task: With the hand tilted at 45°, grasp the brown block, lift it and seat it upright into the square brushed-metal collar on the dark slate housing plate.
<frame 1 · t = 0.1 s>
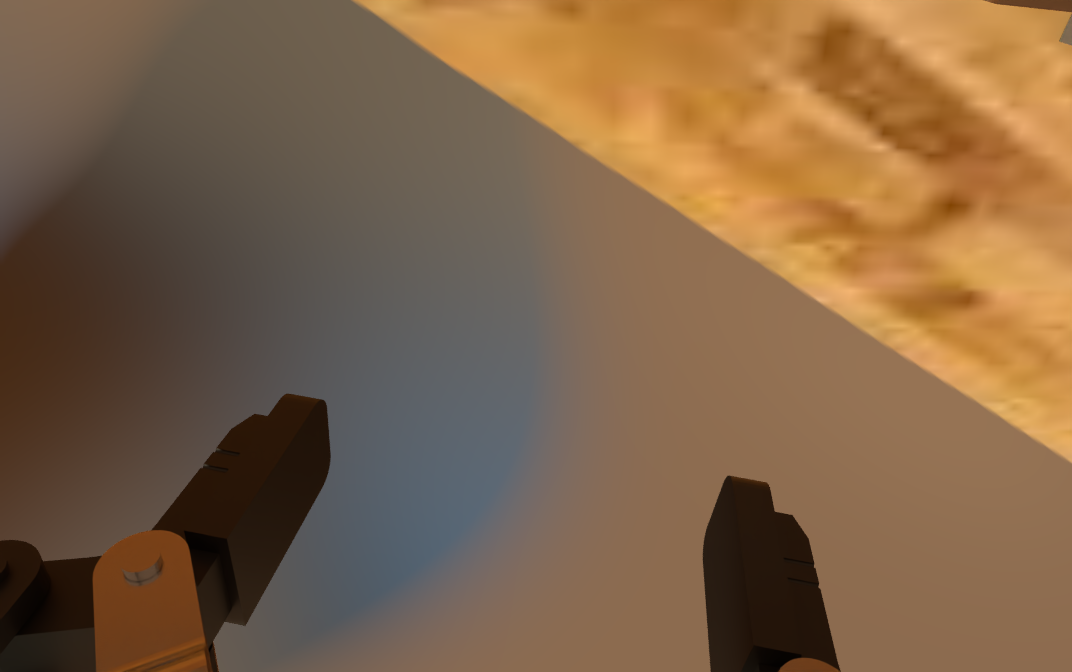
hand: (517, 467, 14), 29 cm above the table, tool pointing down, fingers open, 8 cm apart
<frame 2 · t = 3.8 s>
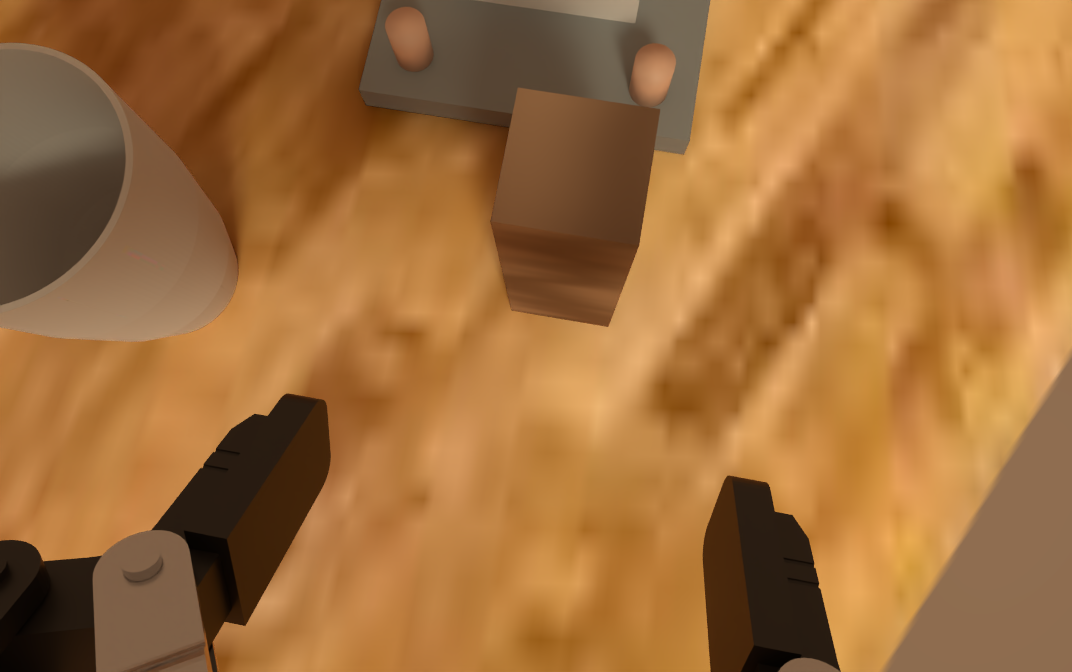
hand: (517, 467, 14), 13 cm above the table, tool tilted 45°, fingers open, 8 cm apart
cup: (181, 278, 29), on the table
brown block: (567, 272, 28), on the table
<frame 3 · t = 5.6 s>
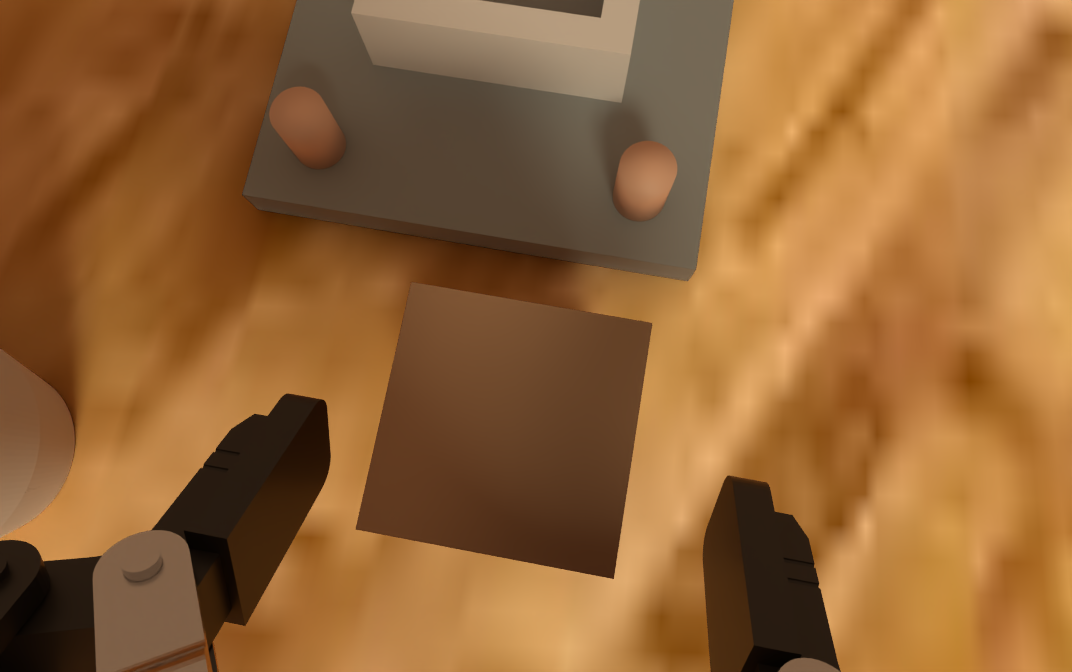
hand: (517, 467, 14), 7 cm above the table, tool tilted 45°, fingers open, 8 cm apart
brown block: (527, 449, 21), on the table
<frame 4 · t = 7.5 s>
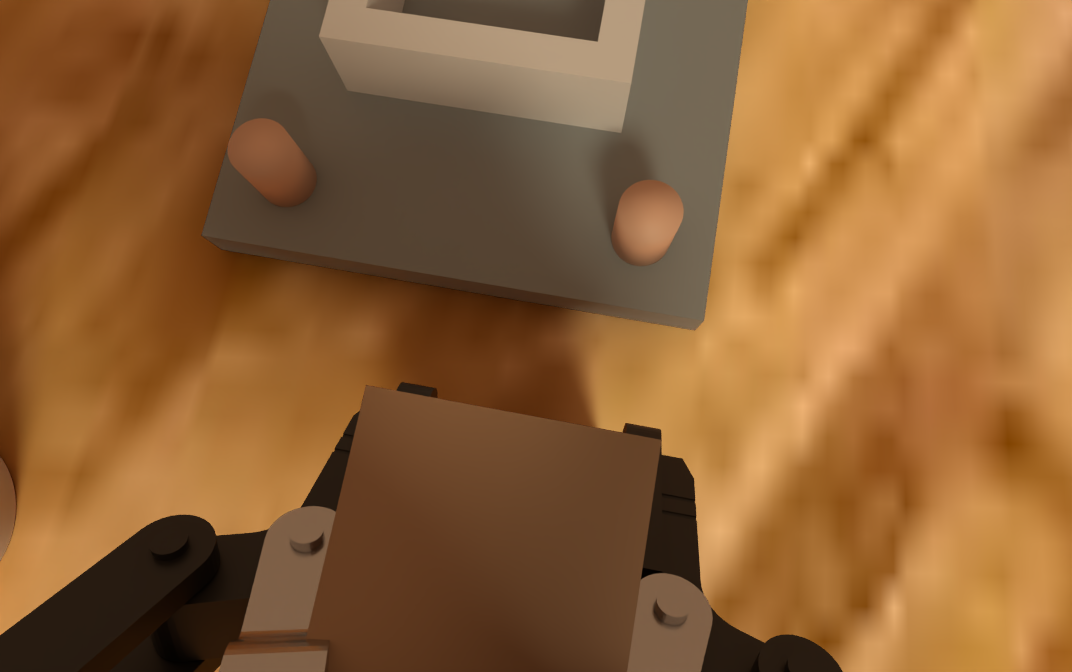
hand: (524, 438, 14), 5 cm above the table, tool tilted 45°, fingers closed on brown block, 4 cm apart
brown block: (518, 520, 19), on the table, touching gripper
housing plate: (511, 17, 22), on the table
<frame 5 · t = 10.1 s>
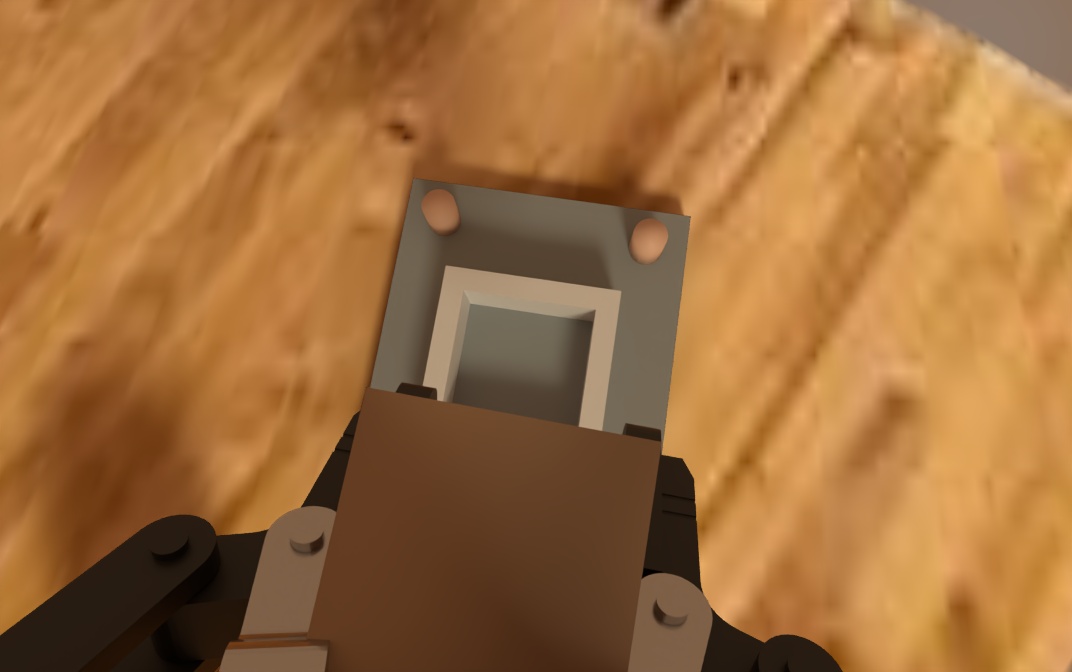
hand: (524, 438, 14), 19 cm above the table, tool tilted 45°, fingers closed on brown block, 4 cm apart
brown block: (518, 521, 19), point 14 cm above the table, touching gripper
housing plate: (522, 377, 34), on the table
when the fingers open (6 cm above the table, at t = 13.3 s): brown block stays where it is, resting on housing plate.
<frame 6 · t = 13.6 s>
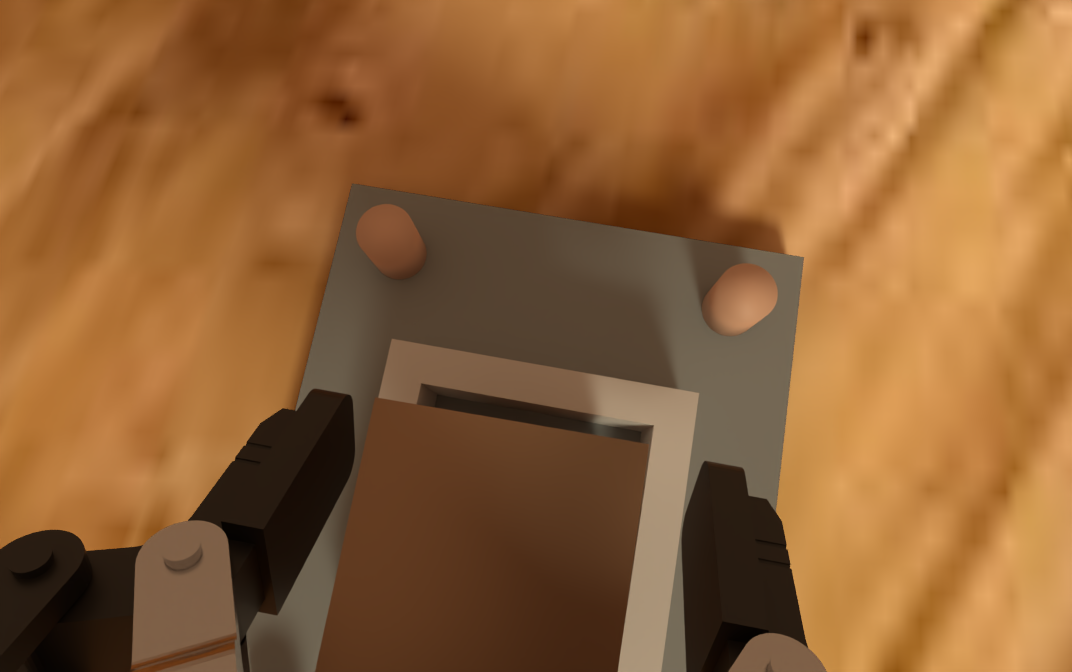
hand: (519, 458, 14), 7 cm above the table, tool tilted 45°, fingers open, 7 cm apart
brown block: (519, 520, 19), point 1 cm above the table, touching housing plate
housing plate: (521, 516, 20), on the table
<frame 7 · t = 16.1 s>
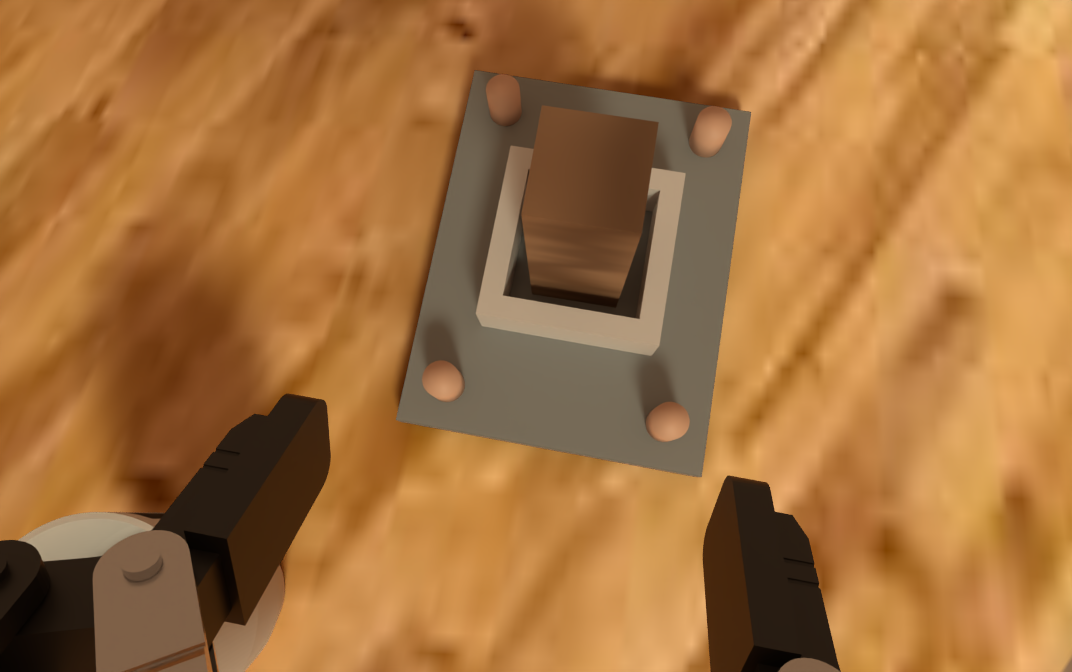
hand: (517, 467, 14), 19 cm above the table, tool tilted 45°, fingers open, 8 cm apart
cup: (232, 592, 31), on the table
brown block: (580, 260, 33), point 1 cm above the table, touching housing plate
housing plate: (579, 267, 34), on the table
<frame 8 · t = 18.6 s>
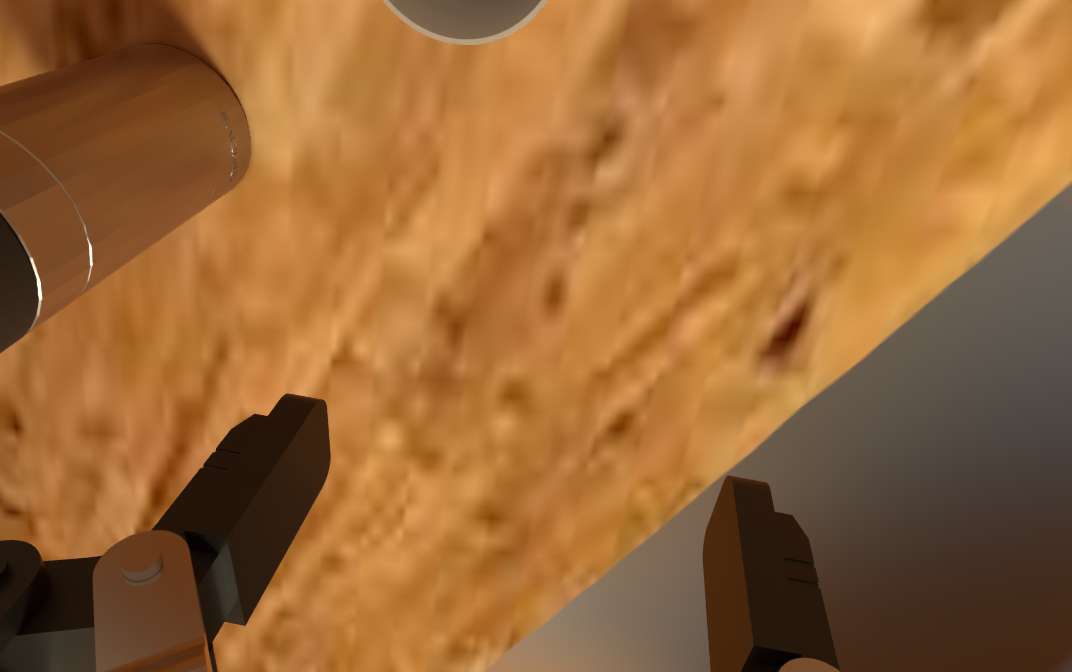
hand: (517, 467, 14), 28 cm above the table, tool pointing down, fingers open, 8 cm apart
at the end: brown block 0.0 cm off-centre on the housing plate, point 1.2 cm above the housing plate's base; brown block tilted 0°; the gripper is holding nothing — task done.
